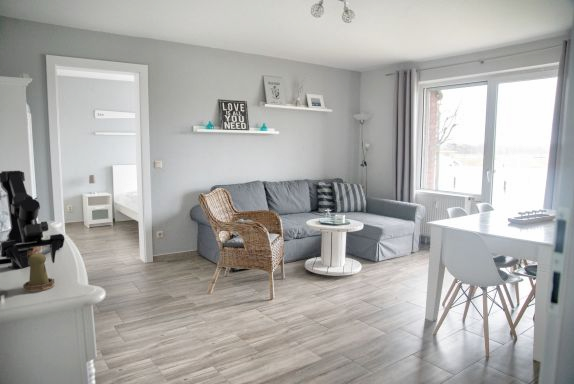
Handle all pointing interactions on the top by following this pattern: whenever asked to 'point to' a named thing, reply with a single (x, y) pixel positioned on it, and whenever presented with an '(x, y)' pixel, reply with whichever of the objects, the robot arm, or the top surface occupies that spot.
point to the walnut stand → (39, 286)
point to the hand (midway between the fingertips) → (38, 265)
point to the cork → (37, 270)
